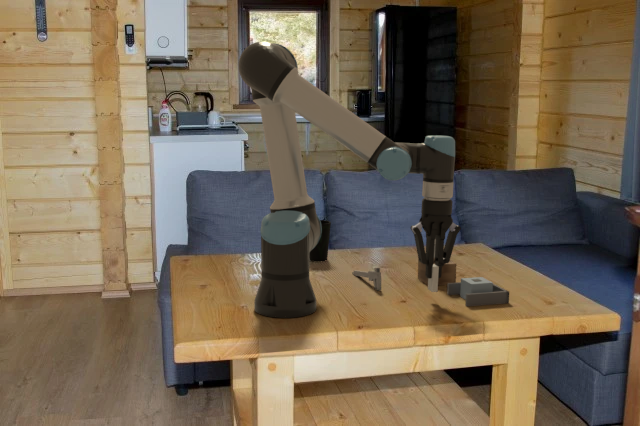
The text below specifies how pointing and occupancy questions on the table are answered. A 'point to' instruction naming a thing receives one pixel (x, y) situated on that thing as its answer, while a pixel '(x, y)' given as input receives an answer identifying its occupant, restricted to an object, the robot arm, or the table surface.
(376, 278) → the caliper
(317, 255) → the cup
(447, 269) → the bore block
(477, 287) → the block
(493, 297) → the corral
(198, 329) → the table surface
